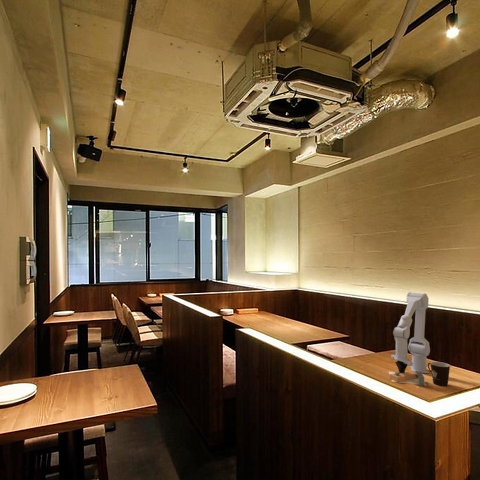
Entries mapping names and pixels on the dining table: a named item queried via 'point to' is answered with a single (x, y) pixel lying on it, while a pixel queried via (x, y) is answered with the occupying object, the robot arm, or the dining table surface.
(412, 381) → the pintle base
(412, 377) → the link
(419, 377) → the keeper
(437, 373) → the coffee mug
